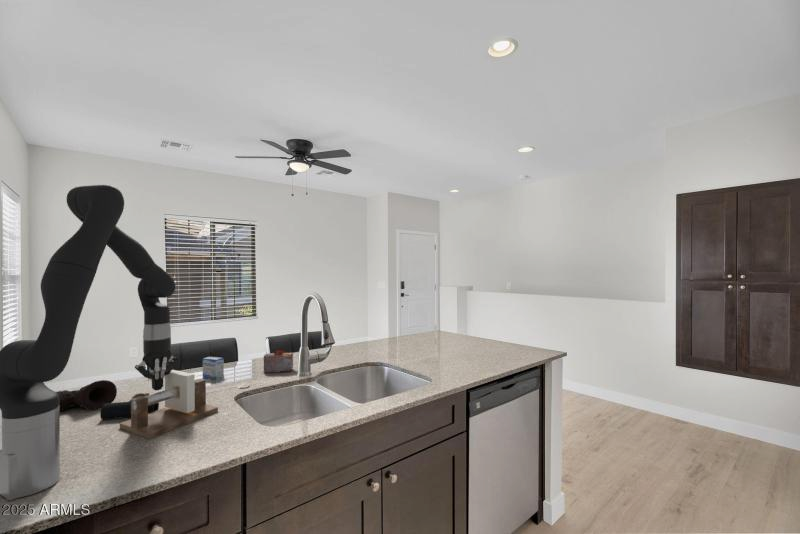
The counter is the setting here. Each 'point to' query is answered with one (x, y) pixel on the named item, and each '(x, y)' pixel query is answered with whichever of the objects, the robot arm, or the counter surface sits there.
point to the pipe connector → (123, 408)
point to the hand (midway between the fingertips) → (157, 389)
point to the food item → (278, 361)
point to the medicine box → (213, 367)
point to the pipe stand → (166, 415)
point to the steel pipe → (161, 396)
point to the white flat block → (181, 391)
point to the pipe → (89, 395)
